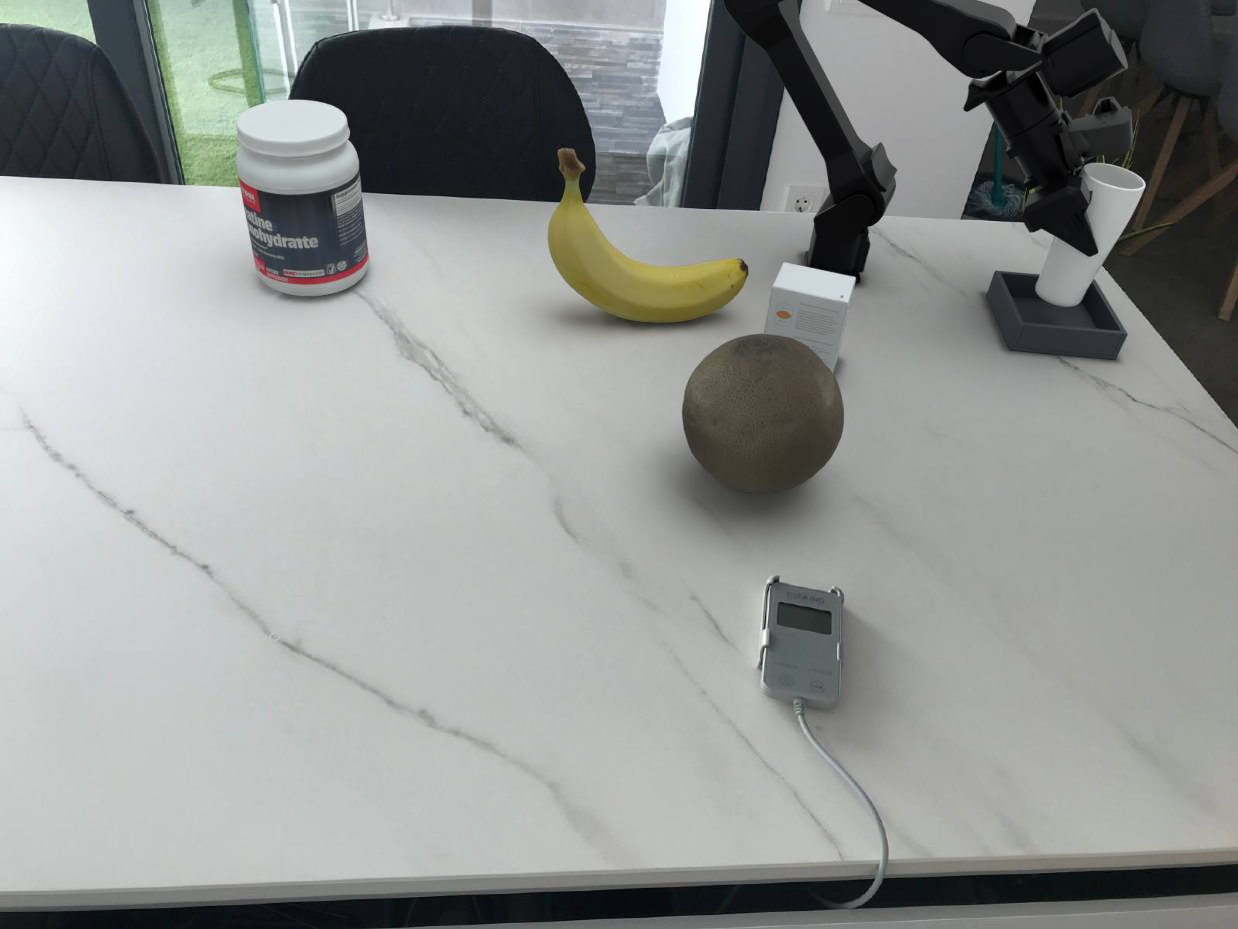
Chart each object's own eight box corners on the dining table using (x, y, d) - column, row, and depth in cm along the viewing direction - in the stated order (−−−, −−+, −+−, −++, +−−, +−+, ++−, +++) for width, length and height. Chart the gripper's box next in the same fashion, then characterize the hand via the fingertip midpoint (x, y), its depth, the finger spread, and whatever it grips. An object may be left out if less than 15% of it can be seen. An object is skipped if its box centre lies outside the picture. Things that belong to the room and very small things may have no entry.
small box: (837, 360, 108) (858, 276, 101) (828, 388, 104) (850, 302, 97) (766, 343, 110) (783, 259, 103) (755, 369, 106) (771, 284, 99)
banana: (735, 302, 116) (762, 138, 103) (746, 329, 112) (775, 161, 98) (544, 304, 113) (547, 135, 100) (548, 332, 108) (551, 160, 95)
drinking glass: (1049, 277, 117) (1104, 157, 108) (1097, 304, 114) (1159, 183, 104) (1015, 289, 114) (1069, 167, 104) (1063, 318, 110) (1124, 194, 100)
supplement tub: (236, 291, 111) (202, 132, 99) (289, 239, 120) (264, 89, 108) (343, 310, 109) (321, 152, 97) (388, 256, 119) (373, 106, 107)
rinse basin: (1009, 350, 112) (1019, 324, 110) (986, 294, 121) (994, 270, 119) (1115, 359, 112) (1128, 334, 109) (1084, 303, 121) (1095, 279, 119)
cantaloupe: (697, 419, 98) (717, 289, 88) (836, 456, 95) (872, 326, 85) (654, 508, 88) (670, 372, 78) (808, 553, 85) (845, 417, 75)
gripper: (1101, 109, 92) (1173, 244, 97) (1110, 53, 106) (1173, 174, 110) (990, 168, 100) (1061, 291, 104) (1011, 109, 113) (1074, 220, 117)
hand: (1095, 241), depth 109 cm, fingers closed on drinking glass, 6 cm apart
